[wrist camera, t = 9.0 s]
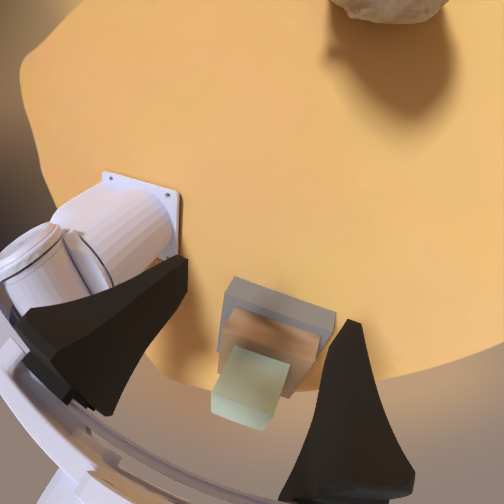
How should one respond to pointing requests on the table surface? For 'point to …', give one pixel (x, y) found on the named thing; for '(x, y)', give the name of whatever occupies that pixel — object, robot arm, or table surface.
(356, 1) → the garlic bulb
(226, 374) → the green cube
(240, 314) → the tower top
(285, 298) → the tower base
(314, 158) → the table surface
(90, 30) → the table surface
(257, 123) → the table surface
